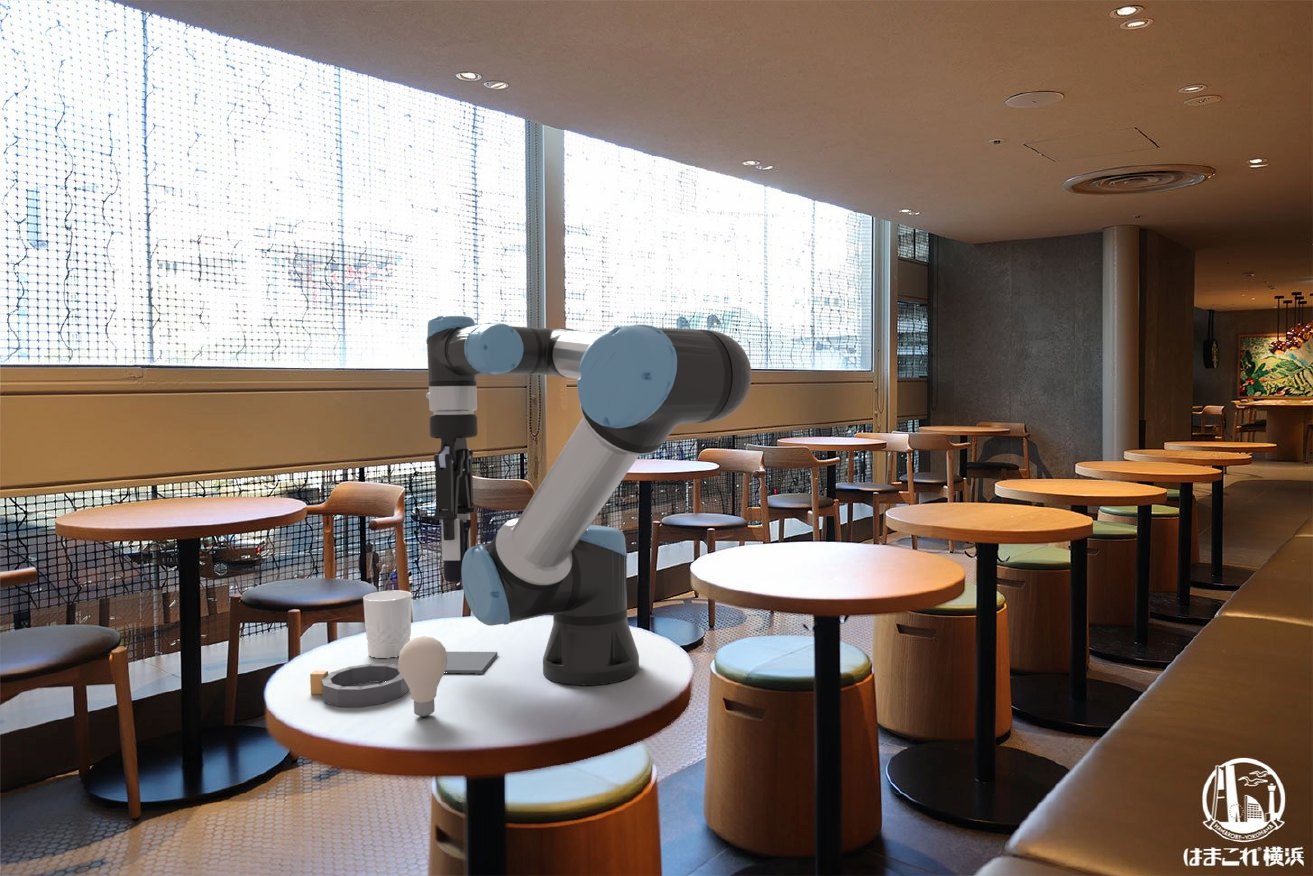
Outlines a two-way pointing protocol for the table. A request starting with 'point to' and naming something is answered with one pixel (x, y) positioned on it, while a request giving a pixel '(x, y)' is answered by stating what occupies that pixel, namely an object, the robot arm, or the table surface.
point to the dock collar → (344, 696)
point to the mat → (469, 662)
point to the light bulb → (423, 671)
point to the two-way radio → (455, 566)
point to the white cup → (387, 622)
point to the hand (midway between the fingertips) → (456, 556)
